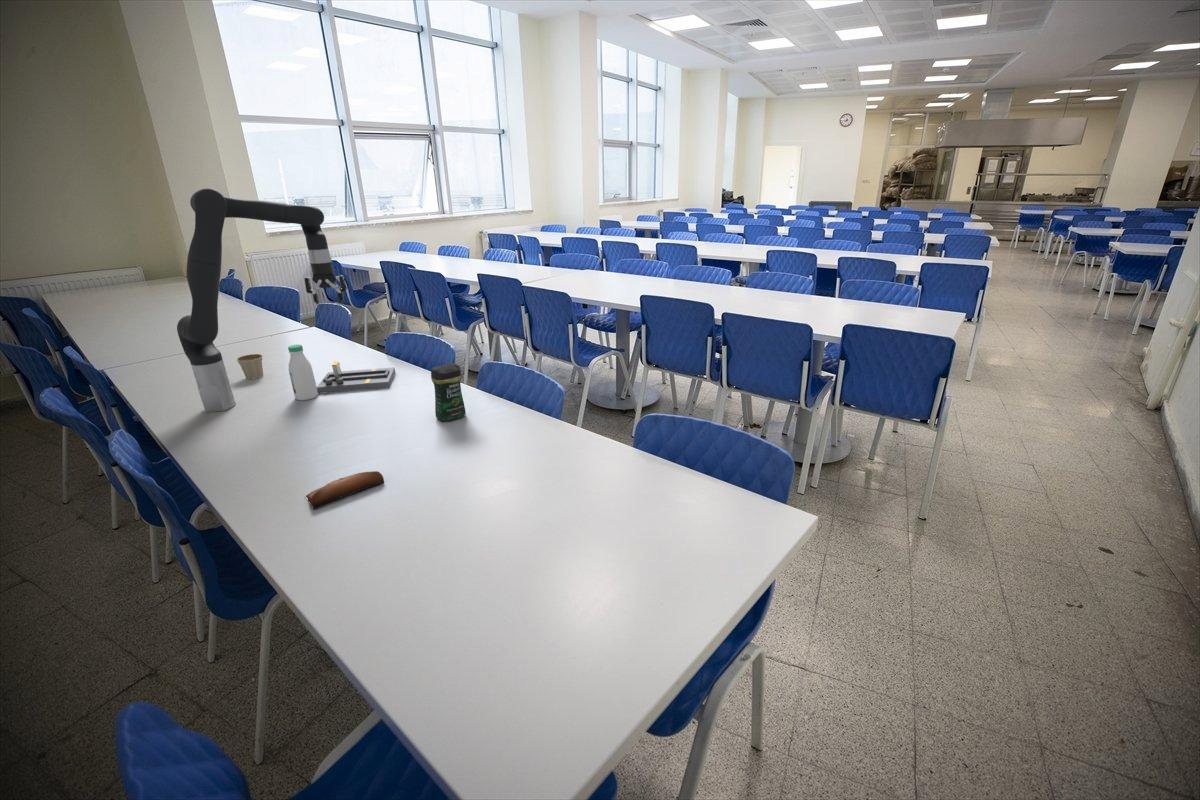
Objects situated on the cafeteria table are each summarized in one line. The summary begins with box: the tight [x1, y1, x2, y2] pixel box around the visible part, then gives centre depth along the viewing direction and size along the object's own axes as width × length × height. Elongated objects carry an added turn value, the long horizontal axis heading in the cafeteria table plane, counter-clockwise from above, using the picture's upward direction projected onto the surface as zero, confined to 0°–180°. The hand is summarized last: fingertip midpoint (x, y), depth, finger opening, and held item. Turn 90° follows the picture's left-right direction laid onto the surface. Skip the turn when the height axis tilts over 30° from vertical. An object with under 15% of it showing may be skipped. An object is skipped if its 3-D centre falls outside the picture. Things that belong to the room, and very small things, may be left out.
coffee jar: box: [430, 362, 467, 422], centre depth 179 cm, size 10×8×19 cm
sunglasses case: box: [305, 470, 385, 510], centre depth 139 cm, size 18×7×7 cm
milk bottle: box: [287, 344, 319, 401], centre depth 197 cm, size 8×8×20 cm
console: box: [316, 367, 396, 394], centre depth 214 cm, size 18×26×4 cm
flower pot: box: [235, 353, 264, 380], centre depth 221 cm, size 9×9×9 cm
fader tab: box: [331, 360, 342, 378], centre depth 211 cm, size 4×2×6 cm, turn 12°
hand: (329, 302), depth 213 cm, fingers open, 8 cm apart
